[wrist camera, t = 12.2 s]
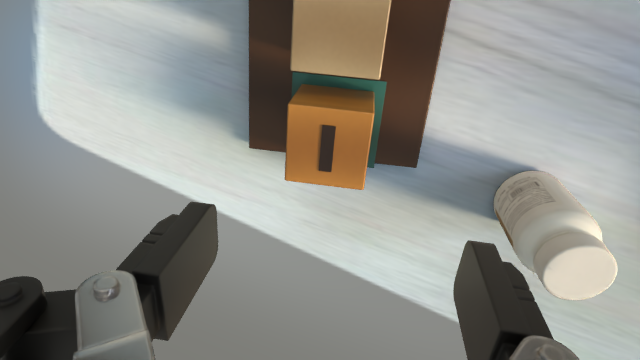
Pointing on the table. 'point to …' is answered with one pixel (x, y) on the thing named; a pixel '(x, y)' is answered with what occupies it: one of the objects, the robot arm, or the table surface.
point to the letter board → (396, 67)
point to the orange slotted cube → (329, 136)
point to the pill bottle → (554, 236)
